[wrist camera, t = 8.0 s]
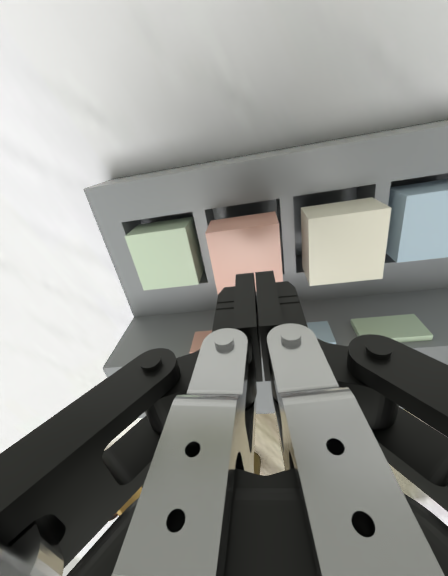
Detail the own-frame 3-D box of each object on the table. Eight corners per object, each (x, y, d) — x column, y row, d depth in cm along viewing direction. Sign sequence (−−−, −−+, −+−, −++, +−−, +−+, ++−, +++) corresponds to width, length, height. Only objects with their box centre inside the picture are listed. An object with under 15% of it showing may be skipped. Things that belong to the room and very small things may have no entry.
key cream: (363, 192, 17) (391, 207, 14) (359, 252, 19) (382, 278, 15) (297, 202, 17) (308, 219, 14) (299, 259, 19) (309, 285, 16)
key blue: (445, 174, 18) (490, 184, 14) (432, 233, 19) (470, 254, 16) (378, 184, 18) (406, 195, 15) (372, 241, 20) (396, 262, 17)
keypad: (481, 113, 17) (698, 96, 9) (432, 311, 24) (527, 404, 16) (111, 179, 21) (20, 211, 13) (164, 333, 28) (128, 418, 20)
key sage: (195, 211, 20) (185, 227, 17) (206, 261, 22) (198, 284, 19) (144, 219, 21) (124, 236, 17) (159, 267, 23) (143, 290, 19)
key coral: (273, 206, 18) (279, 223, 14) (278, 262, 20) (283, 288, 16) (213, 214, 18) (205, 233, 15) (223, 268, 20) (217, 295, 17)
